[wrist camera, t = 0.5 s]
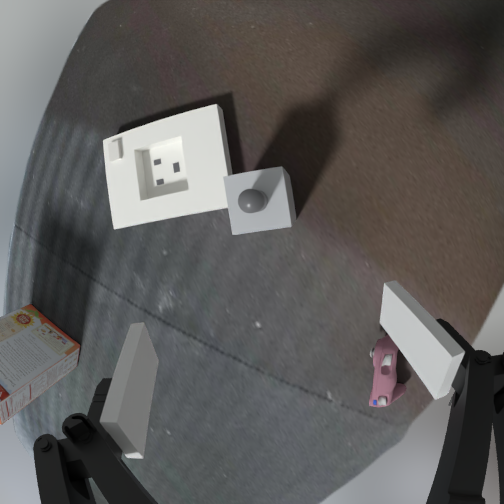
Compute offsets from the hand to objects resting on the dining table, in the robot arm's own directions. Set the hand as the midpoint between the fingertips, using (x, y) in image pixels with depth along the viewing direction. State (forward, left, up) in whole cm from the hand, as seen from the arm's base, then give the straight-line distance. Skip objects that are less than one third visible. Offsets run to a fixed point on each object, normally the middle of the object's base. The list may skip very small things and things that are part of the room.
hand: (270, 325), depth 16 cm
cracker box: (+43, +9, -21) cm, 49 cm away
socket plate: (+13, -13, -20) cm, 27 cm away
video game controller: (-11, +15, -21) cm, 28 cm away
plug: (+1, -7, -20) cm, 21 cm away
